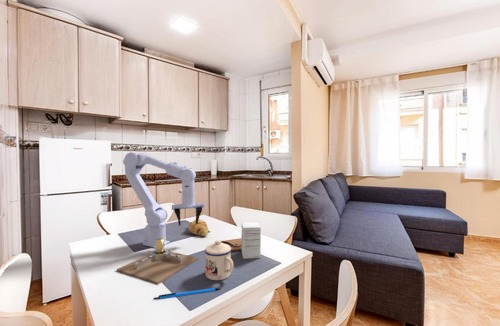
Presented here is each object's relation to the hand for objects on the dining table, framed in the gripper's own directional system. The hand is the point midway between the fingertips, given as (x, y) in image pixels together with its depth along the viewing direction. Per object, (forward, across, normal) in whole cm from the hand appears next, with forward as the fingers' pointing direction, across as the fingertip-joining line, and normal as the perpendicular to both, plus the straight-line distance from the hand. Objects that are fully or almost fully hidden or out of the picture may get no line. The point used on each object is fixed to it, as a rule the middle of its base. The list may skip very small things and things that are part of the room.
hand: (188, 224), depth 106 cm
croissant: (+10, +7, +17) cm, 21 cm away
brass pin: (+9, -12, -12) cm, 19 cm away
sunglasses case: (+10, +19, -12) cm, 25 cm away
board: (+9, -12, -18) cm, 23 cm away
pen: (+10, -4, -40) cm, 42 cm away
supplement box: (+10, +23, -20) cm, 33 cm away
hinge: (+9, -12, -18) cm, 23 cm away
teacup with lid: (+10, +8, -33) cm, 35 cm away
